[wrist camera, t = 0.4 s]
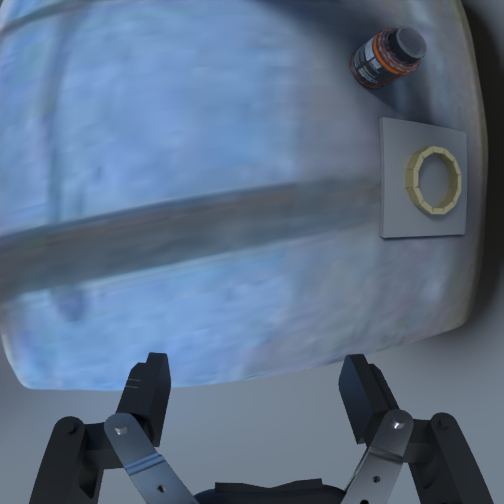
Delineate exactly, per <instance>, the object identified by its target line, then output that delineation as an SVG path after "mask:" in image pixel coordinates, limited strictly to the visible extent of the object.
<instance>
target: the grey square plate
mask: <svg viewBox="0 0 504 504" xmlns="http://www.w3.org/2000/svg"><path fill="white" fill-rule="evenodd" d="M379 129H380V154H381V213H380V237H382V238H389V237H412V236H435V235H459V234H465V225H466V209H467V142H466V132H463V131H458V130H454V129H449V128H444V127H440V126H435V125H429V124H424V123H418V122H413V121H407V120H400V119H394V118H387V117H381V118H379ZM428 146H435V147H441V148H445V149H446V150H447V151H448V152H449V153H451V154H452V155H453V156H454V157H455V159H456V161H457V164H458V166H459V169H460V172H461V193H460V195H459V198H458V200H457V202H456V205H455V206H454V207H453V208H452V209H450V210H449V211H448V212H447V213H445V214H430V213H425V212H423V211H421V210H420V209H419V208H418V207H416V206H415V205H414V204H413V203H412V202H411V199H410V197H409V194H408V192H407V190H406V187H405V169H406V167H407V164H408V162H409V160H410V158H411V156H412V154H413V153H415V152H416V151H418V150H419V149H421V148H423V147H428ZM418 187H419V190H420V192H421V194H422V197H423V199H424V201H425V202H426V203H428V204H429V205H430V206H431V207H436V206H437V205H438V204H439V203H441V202H442V201H443V200H444V199H445V197H446V194H447V192H448V190H449V173H448V170H447V168H446V165H445V163H444V161H443V160H442V159H440V158H439V157H438V156H437V155H436V154H432V153H431V154H430V155H428V156H427V157H425V158H424V160H423V162H422V164H421V166H420V169H419V171H418Z"/></svg>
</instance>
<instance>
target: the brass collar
mask: <svg viewBox="0 0 504 504" xmlns="http://www.w3.org/2000/svg"><path fill="white" fill-rule="evenodd" d="M431 153H432V154H436V155H437V156H438V157H439V158H440V159H442V160H443V161H444V163H445V165H446V168H447V170H448V173H449V190H448V192H447V194H446V197H445V199H444V200H443V201H442V202H441V203H439V204H438V205H437V206H436V207H431V206H430V205H429V204H428V203H426V202H425V201H424V199H423V197H422V194H421V192H420V190H419V187H418V171H419V169H420V166H421V164H422V162H423V160H424V158H425V157H427V156H428V155H430V154H431ZM405 187H406V190H407V192H408V194H409V197H410V199H411V202H412V203H413V204H414V205H415V206H416V207H418V208H419V209H420V210H421V211H423V212H425V213H430V214H445V213H447V212H448V211H449V210H450V209H452V208H453V207H454V206H455V205H456V202H457V200H458V198H459V195H460V193H461V172H460V169H459V166H458V164H457V161H456V159H455V157H454V156H453V155H452V154H451V153H449V152H448V151H447V150H446V149H445V148H441V147H435V146H428V147H423V148H421V149H419V150H418V151H416V152H415V153H413V154H412V156H411V158H410V160H409V162H408V164H407V167H406V169H405Z"/></svg>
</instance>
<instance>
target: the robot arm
mask: <svg viewBox="0 0 504 504" xmlns="http://www.w3.org/2000/svg"><path fill="white" fill-rule="evenodd" d="M170 389H171V376H170V370H169V364H168V357H167V354H165V353H153V352H150V353H149V355H148V358H147V361H146V363H139V362H138V363H137V364H136V365H135V366H134V367H133V368H132V369H131V371H130V374H129V377H128V380H127V382H126V387H125V388H124V391H123V394H122V396H121V400H120V402H119V405H118V408H117V411H116V413H115V414H113V415H111V416H110V417H108V418H107V419H106V421H105V422H103V423H96V424H84V423H83V422H82V421H81V420H80V419H79V418H76V417H72V416H70V417H64V418H62V419H60V420H59V421H58V422H57V423H56V424H55V426H54V429H53V432H52V434H51V437H50V440H49V442H48V445H47V448H46V451H45V454H44V456H43V459H42V462H41V466H40V468H39V472H38V475H37V478H36V481H35V484H34V488H33V491H32V494H31V498H30V502H29V504H97V503H98V498H99V491H100V487H101V482H102V476H103V471H104V469H115V468H125V470H126V472H127V473H128V475H129V477H130V479H131V480H132V482H133V483H134V485H135V487H136V488H137V490H138V491H139V493H140V495H141V496H142V498H143V499H144V501H145V502H146V504H386V503H387V501H388V499H389V497H390V494H391V492H392V490H393V487H394V485H395V483H396V481H397V478H398V476H399V473H400V470H401V468H402V465H403V462H405V463H408V465H409V468H410V471H411V473H412V477H413V480H414V483H415V486H416V489H417V493H418V496H419V499H420V503H421V504H494V503H493V501H492V498H491V496H490V493H489V491H488V488H487V486H486V484H485V481H484V479H483V476H482V474H481V472H480V470H479V467H478V465H477V463H476V461H475V458H474V456H473V454H472V452H471V450H470V448H469V446H468V444H467V442H466V439H465V437H464V435H463V433H462V431H461V429H460V427H459V425H458V423H457V421H456V420H455V418H454V417H453V416H451V415H450V414H447V413H442V412H441V413H437V414H435V415H434V416H433V417H432V418H431V420H418V419H413V418H412V416H411V415H410V414H409V413H408V412H406V411H403V410H400V409H399V407H398V405H397V402H396V400H395V398H394V396H393V394H392V392H391V390H390V388H389V387H388V384H387V382H386V380H385V378H384V376H383V374H382V372H381V370H380V369H378V368H377V367H376V366H375V365H374V364H368V362H367V360H366V358H365V356H364V355H363V354H353V355H347V356H346V357H345V360H344V364H343V367H342V371H341V374H340V377H339V391H340V394H341V397H342V400H343V403H344V406H345V409H346V412H347V415H348V418H349V421H350V424H351V427H352V430H353V433H354V436H355V439H356V442H357V444H362V443H366V446H367V448H366V450H365V452H364V454H363V456H362V458H361V460H360V462H359V464H358V466H357V468H356V469H355V471H354V473H353V475H352V477H351V478H350V480H349V482H348V483H347V485H346V487H345V488H344V490H342V489H339V488H337V487H333V486H329V485H323V484H322V479H321V478H320V479H310V480H300V481H294V482H291V483H287V484H284V485H280V486H277V487H273V488H265V487H259V486H254V485H249V484H244V483H217V482H216V483H215V489H209V490H206V491H203V492H201V493H198V494H196V495H194V496H193V495H192V494H191V493H190V491H189V490H188V489H187V488H186V486H185V485H184V484H183V482H182V481H181V480H180V479H179V477H178V476H177V475H176V473H175V472H174V471H173V469H172V468H171V467H170V465H169V464H168V463H167V461H166V460H165V458H164V457H163V456H162V455H159V454H158V452H157V451H156V449H155V448H154V447H159V445H160V440H161V435H162V429H163V424H164V419H165V414H166V408H167V404H168V399H169V395H170Z"/></svg>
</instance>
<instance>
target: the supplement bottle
mask: <svg viewBox="0 0 504 504" xmlns="http://www.w3.org/2000/svg"><path fill="white" fill-rule="evenodd" d="M426 49H427V48H426V43H425V41H424V39H423V37H422V36H421V35H420V34H419V33H418V32H417V31H416V30H414V29H412V28H410V27H400V28H399V29H397V28H386V29H384V30H382V31H381V32H379V33H378V34H377V35H375V36H374V37H373V38H372V39H370V40H369V41H368V42H367V43H365V44H364V45H363V46H362V47H361V48H359V49H358V50H357V51H356V52H355V53H354V54H353V55H352V57H351V60H350V67H351V71H352V73H353V75H354V77H355V78H356V79H357V80H358V81H359V82H360V83H361V84H363V85H365V86H367V87H370V88H379V87H382V86H384V85H386V84H388V83H391V82H393V81H395V80H397V79H399V78H401V77H403V76H405V75H407V74H409V73H411V72H413V71H415V70H416V69H417V68H418V66H419V64H420V60H421V58H422V57H424V56H425V54H426V51H427V50H426Z"/></svg>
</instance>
